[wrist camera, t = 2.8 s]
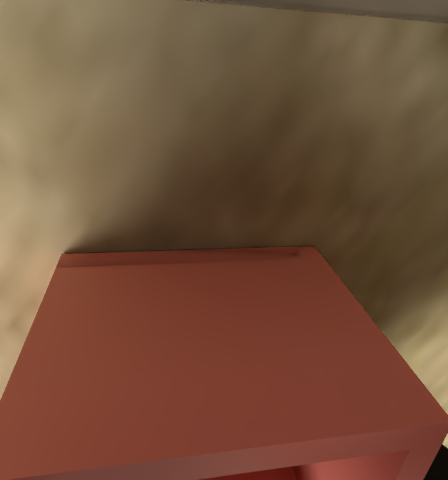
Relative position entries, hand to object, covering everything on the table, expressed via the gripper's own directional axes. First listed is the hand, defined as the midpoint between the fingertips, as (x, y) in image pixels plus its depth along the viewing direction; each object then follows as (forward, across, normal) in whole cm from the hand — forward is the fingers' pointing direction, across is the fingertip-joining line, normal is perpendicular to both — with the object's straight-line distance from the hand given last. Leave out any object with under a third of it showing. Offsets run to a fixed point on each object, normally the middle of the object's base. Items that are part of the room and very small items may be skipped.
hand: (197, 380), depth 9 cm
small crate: (+1, 0, 0) cm, 1 cm away
